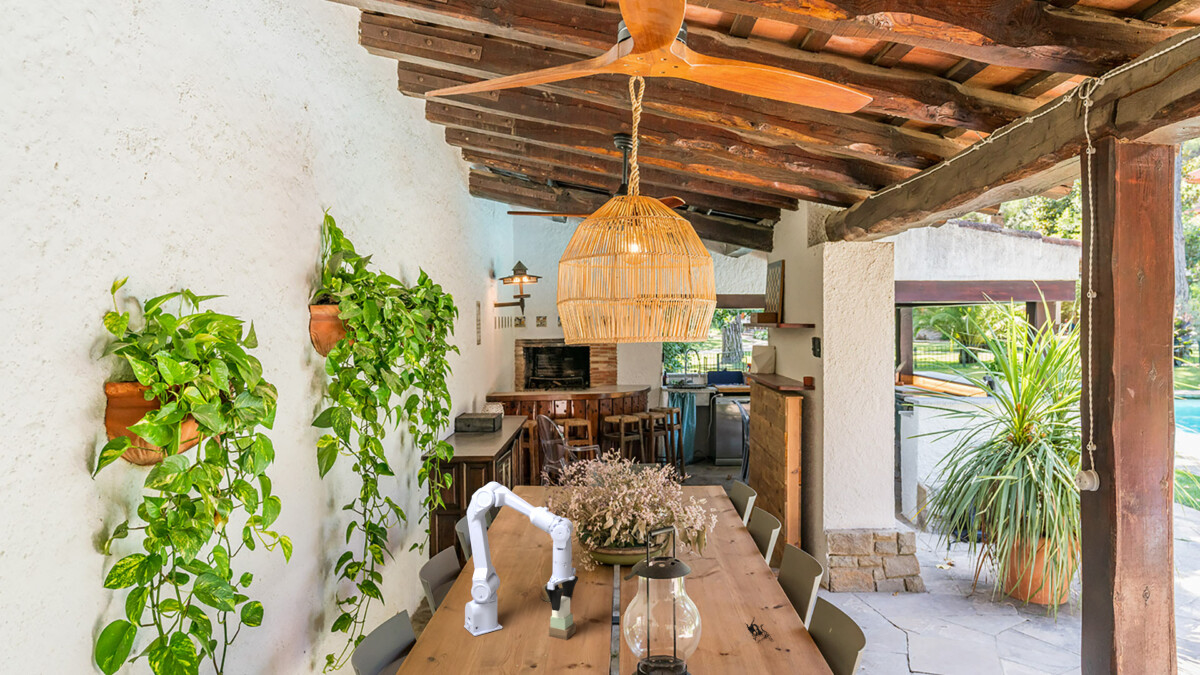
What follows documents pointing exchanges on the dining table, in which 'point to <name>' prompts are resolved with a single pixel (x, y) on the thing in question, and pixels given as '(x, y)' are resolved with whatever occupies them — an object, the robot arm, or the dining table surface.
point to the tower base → (562, 632)
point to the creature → (752, 630)
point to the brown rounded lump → (544, 593)
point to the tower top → (561, 622)
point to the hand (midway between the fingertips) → (561, 605)
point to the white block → (563, 608)
